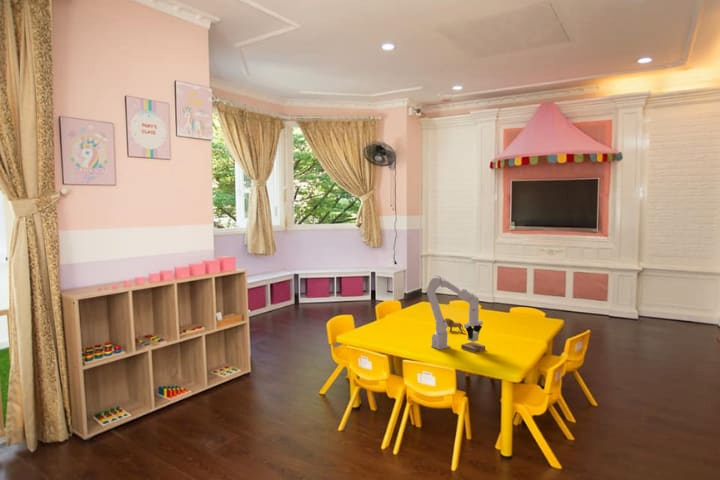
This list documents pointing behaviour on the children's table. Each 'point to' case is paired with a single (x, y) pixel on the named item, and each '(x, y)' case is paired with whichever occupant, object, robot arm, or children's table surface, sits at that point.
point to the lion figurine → (454, 324)
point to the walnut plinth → (473, 347)
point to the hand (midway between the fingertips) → (473, 337)
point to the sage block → (474, 336)
